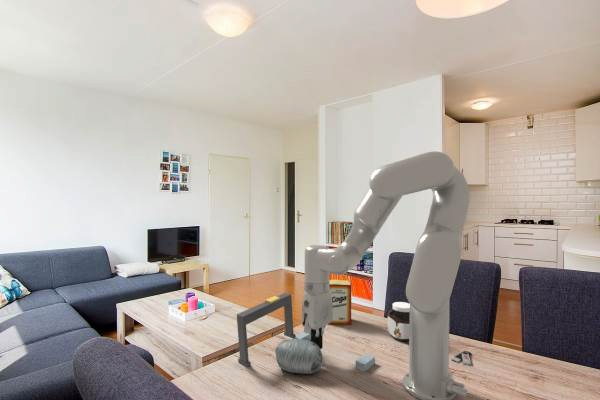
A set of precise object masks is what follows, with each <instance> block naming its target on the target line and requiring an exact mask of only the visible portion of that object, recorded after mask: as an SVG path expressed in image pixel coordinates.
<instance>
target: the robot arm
mask: <svg viewBox="0 0 600 400" xmlns="http://www.w3.org/2000/svg"><path fill="white" fill-rule="evenodd" d="M467 181H468V180H467V179H466V178H465V176H464V175H463V173H462V172H461V171H460V170H459V169H458V168H457V167H456V166H455V164H454V162H453V160H452V158H451V157H450V156H449V155H448V154H446V153H444V152H441V151H428V152H424V153H420V154H417V155H414V156H411V157H407V158H405V159H402V160H398V161H394V162H391V163H387V164H384V165H381V166H379V167H377V168H376V169H375V170H374V171H373V172H372V174H371V175H370V177H369V182H368V183H369V188H368V190H367V192H366V193H365V195H364V196H363V198H362V199H361V201H360V203H359V204H358V206H357V207H356V208H355V210H354V213H353V224H352V226H351V229H350V231H349V232H348V234H347V236H346V237H345V239H344V240H343V242H342V243H341V245H339V246H337V247H333V248H329V247H328V246H326V245H321V244H312V245H307V246H306V247H305V249H304V287H303V289H304V292H303V297H302V306H301V326H302V327H304V329H303V332H305V333H307V334H309V333H310V335H311V340H310V342H314V343H315V344H317V345H318V346H319V348H320V349H321V350H322V349H323V346H324V345H323V342H324V341H323V340H324V339H323V335H324V333H325V328H326V326H327V325H330V324H329V323H330V322H332V320H333V306H332V296H331V291H330V290H329V288H330V280H331V279H330V278H331V277H330V274H332V275H335V276H341V275H344V274H345V275H346V273H348V272H349V271H351V270H352V269H354V268H355V267H356V266H357V265H358V264H359V263H360V261H362V258H364V255H365V254H366V253H367V252H368V250H369V248H370V247H371V245H372V243H373V242H374V240H375V238H376V237H377V235H378V234H379V232H380V230H381V229H382V227H383V226H384V225H385V223H386V221H387V220H388V218H389V217H390V215H391V214H392V212H393V210H394V209H395V208H396V207H397V205H398V204H399V202H400V201H401V199H402V198H403V197H404V196H406V195H410V194H411V195H412V194H414V193H419V192H422V191H426V190H431V191H432V200H431V205H430V209H429V213H428V217H427V221H426V224H425V227H424V231H423V232H422V234H421V235H420V237H419V238H418V241H417V244H416V248H415V252H414V255H413V259H412V264H411V267H410V271H409V275H408V278H407V282H406V285H405V286H406V288H405V296H406V299H407V301H408V303H409V304H410V325H409V342H408V343H409V344H408V345H409V347H408V349H409V351H408V353H409V354H408V355H409V356H408V371H409V372H407V373H406V374H404V375H403V378H402V386H403V388H404V389H405V390H406V391H407V392H408V393H409V394H410V395H411V396H414V397H415V398H417V399H418V400H454V399H455V398H456V397H457V396H459V397H461V398H464V399H467V398H468V394H469V393H468V392H469V391H468V389H467V388H465V387H466V385H465V383H462V382H459V381H455V379H454V378H453V373H452V372H450V298H451V295H452V292H453V288H454V285H455V281H456V278H457V274H458V271H459V267H460V264H461V259H462V255H463V254H462V253H463V244H462V235H463V233H464V229H465V224H466V220H467V215H468V211H469V207H470V199H471V194H470V193H471V192H470V187H469V185H468V182H467ZM456 395H457V396H456Z"/></svg>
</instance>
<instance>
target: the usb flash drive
mask: <svg viewBox="0 0 600 400" xmlns="http://www.w3.org/2000/svg"><path fill="white" fill-rule="evenodd" d="M470 355H471V356H472V352H470V351H467V350H464V351H461V352H460V353H459V354H455V355H454V357H452V358H451V361H454V362H457V363H458V362H459V363H460V362H462V365H463V366H467V365H468V367H471V366H472V364H471V359H470V357H471V356H470Z"/></svg>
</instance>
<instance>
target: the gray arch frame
mask: <svg viewBox="0 0 600 400" xmlns="http://www.w3.org/2000/svg"><path fill="white" fill-rule="evenodd" d="M282 308H283V312H284V314H283V315H284V327H285V329H284V330H285V331H283V335H284V336H285V337H288V338H290V339H294V338H295V337H296V335H297V334H295V333H294V319H293V317H294V315H293V300H292V294H291V293H287V292H283V293H281V294H279V295H273V296H271V297H268V298H267V299H265V301H263V302H261V303H259V304H257V305H255V306H252V307H250V308H248V309H245V310H244V311H241V312H239V313H237V314H236V324H237V326H236V327H237V337H238V348H239V350H238V351H239V358H238V359H237V362H238V363H239V364H240V365H243V366H245V367H246V368H249V367H251V366H252V364H251V363H252V362H251V360H249V348H248V346H249V345H248V335H247V334H248V333H247V325H249V324H251V323H253V322H256V321H257V320H259V319H261V318H263V317H265V316H267V315H269V314H271V313H273V312H275V311H277V310H279V309H282Z"/></svg>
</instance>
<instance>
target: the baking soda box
mask: <svg viewBox="0 0 600 400" xmlns="http://www.w3.org/2000/svg"><path fill="white" fill-rule="evenodd" d="M329 290H330V291H331V296H332V306H333V320H332V322H330V323H329V324H328V325H337V326H338V325H343V326H345V325H346V326H351V325H352V283H351V281H350V280H345V279H344V280H343V279H341V280H340V279H330V288H329Z"/></svg>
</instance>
